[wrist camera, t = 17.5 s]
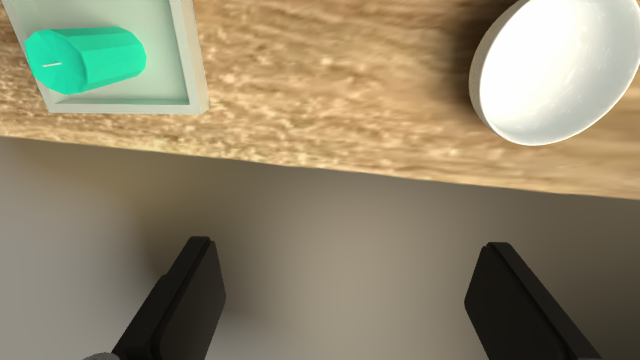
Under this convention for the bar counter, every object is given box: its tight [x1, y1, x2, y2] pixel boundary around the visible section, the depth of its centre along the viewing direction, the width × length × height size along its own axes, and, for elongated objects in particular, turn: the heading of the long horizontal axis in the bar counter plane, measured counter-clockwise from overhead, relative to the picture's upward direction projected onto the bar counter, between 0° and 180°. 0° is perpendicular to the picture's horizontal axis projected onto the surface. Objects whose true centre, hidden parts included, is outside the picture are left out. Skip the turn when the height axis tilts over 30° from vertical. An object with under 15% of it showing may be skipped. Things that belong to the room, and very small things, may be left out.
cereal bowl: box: [469, 0, 640, 145], centre depth 35 cm, size 17×17×7 cm
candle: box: [24, 27, 147, 95], centre depth 33 cm, size 6×6×12 cm
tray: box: [1, 0, 211, 114], centre depth 37 cm, size 14×20×4 cm
